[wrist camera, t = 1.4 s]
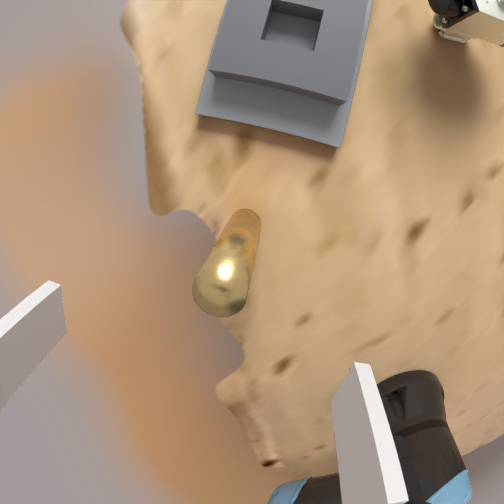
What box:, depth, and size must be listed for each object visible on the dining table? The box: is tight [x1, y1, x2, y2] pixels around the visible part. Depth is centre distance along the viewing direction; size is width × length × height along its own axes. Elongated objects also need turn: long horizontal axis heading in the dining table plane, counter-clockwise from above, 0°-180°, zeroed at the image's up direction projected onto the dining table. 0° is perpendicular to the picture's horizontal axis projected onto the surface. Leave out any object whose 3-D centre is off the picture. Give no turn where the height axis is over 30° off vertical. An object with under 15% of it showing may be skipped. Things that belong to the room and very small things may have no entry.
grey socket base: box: [196, 0, 372, 148], centre depth 22 cm, size 20×14×4 cm
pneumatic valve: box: [428, 0, 504, 47], centre depth 15 cm, size 6×12×12 cm, turn 96°
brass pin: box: [192, 209, 261, 317], centre depth 24 cm, size 3×3×15 cm
